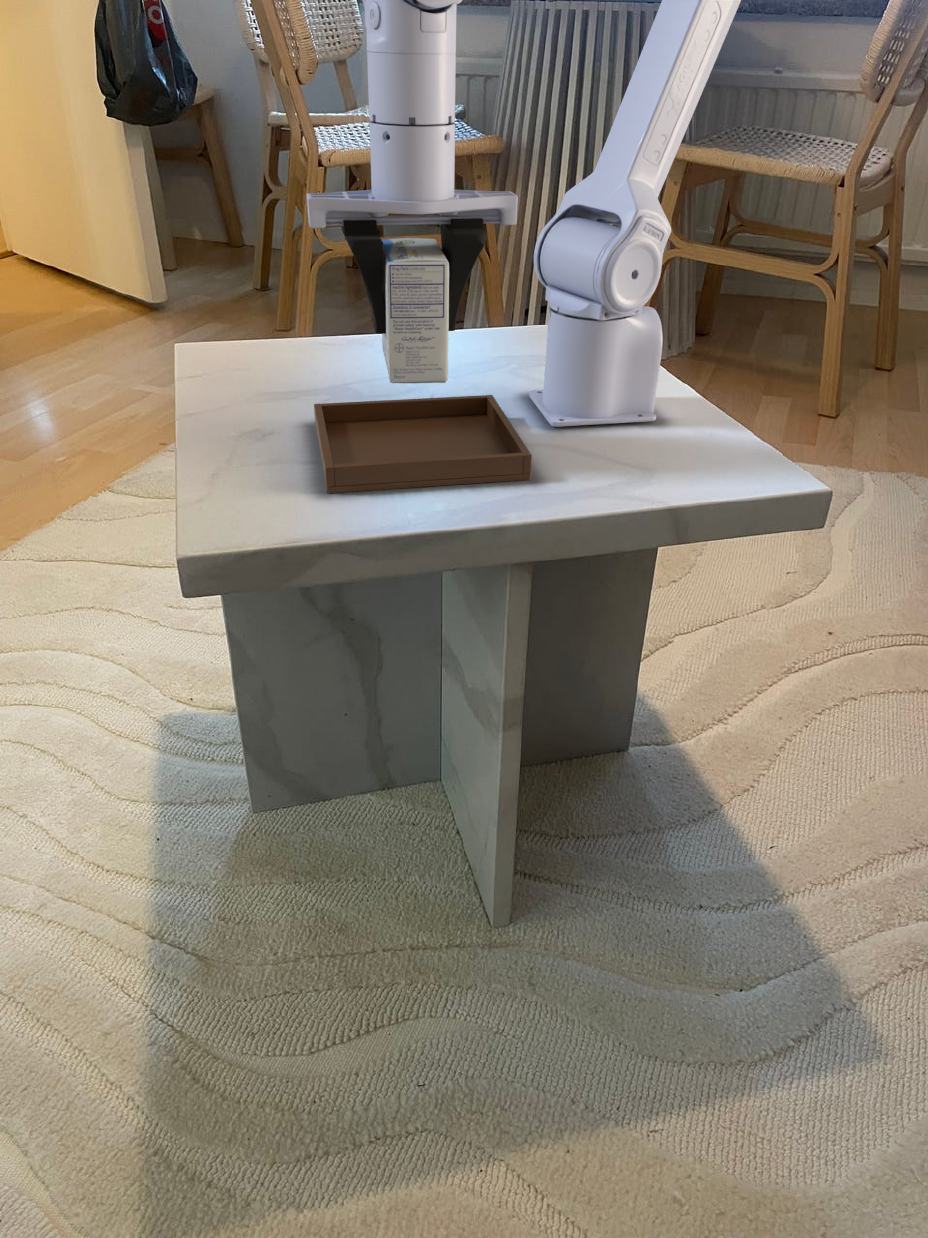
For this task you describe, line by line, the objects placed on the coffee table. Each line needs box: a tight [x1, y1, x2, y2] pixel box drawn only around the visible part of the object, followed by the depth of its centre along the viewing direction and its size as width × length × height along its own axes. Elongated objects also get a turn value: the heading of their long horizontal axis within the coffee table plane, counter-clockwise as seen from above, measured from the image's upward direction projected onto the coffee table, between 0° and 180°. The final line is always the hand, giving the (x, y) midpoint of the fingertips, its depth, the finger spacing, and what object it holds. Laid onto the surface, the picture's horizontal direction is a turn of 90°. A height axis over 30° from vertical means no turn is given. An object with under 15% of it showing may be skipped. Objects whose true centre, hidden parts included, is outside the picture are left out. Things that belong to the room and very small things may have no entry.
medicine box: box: [381, 237, 450, 384], centre depth 67 cm, size 8×4×9 cm, turn 8°
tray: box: [313, 394, 533, 494], centre depth 72 cm, size 15×13×2 cm
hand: (414, 328), depth 68 cm, fingers closed on medicine box, 4 cm apart
